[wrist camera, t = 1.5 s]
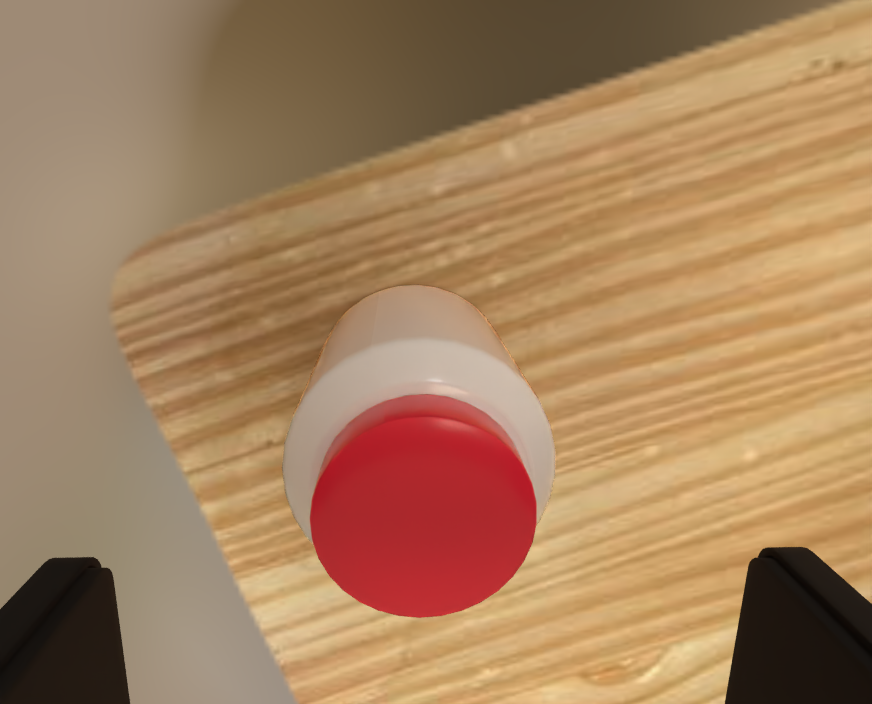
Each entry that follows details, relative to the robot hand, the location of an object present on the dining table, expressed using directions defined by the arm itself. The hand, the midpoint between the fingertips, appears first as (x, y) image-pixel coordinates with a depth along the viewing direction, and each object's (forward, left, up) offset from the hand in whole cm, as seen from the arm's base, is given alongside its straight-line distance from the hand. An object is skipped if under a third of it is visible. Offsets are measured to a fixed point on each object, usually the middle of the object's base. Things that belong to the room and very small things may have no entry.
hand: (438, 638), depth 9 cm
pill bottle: (0, 0, -11) cm, 11 cm away
